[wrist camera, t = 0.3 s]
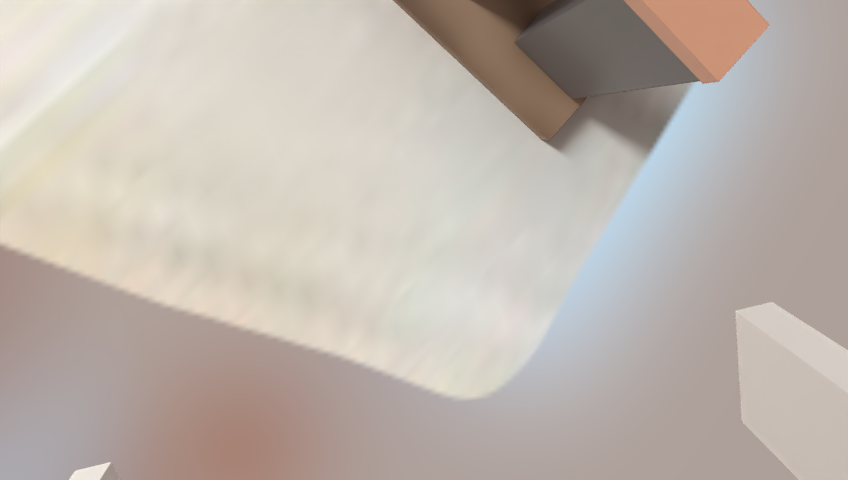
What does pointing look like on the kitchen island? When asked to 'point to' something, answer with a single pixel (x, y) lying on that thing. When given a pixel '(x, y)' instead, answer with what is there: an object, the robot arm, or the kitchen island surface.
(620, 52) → the key
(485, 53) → the key console
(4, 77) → the kitchen island surface
